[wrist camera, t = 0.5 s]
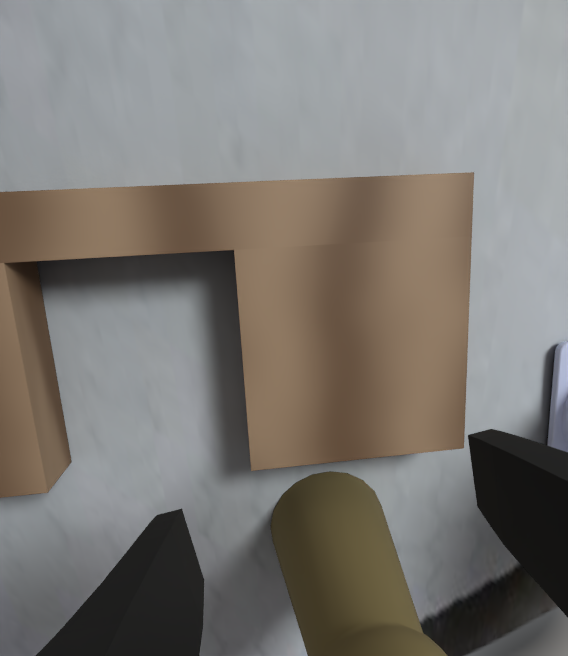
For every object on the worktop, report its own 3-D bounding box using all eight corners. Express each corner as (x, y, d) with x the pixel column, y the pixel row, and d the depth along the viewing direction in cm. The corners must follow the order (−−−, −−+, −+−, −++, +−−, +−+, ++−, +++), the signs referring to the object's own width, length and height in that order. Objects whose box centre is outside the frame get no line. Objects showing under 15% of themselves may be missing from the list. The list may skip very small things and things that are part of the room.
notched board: (443, 181, 19) (474, 172, 16) (438, 425, 21) (463, 448, 19) (-71, 204, 17) (-123, 197, 14) (-12, 470, 19) (-49, 502, 17)
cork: (367, 456, 21) (498, 670, 11) (393, 551, 23) (534, 828, 12) (255, 493, 21) (273, 751, 10) (288, 587, 22) (334, 903, 12)
